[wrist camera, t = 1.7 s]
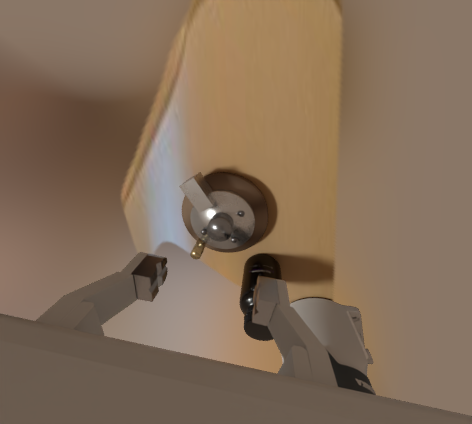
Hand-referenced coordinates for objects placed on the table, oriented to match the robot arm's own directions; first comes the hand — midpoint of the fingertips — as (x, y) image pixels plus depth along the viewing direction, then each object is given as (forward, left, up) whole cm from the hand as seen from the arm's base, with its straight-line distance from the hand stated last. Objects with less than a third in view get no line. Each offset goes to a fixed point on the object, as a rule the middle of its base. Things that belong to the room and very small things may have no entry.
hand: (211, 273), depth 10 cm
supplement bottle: (-17, +5, -19) cm, 26 cm away
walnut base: (-4, +5, -19) cm, 20 cm away
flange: (-2, +5, -17) cm, 18 cm away
